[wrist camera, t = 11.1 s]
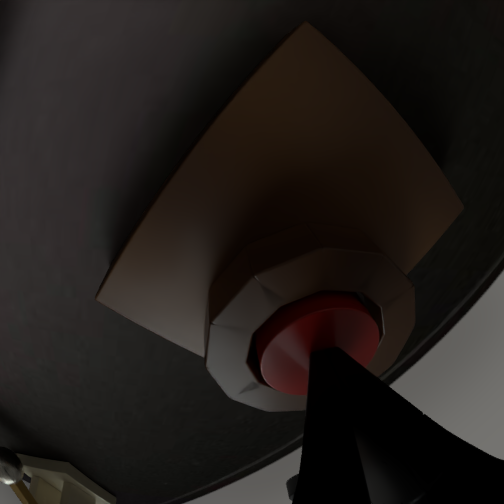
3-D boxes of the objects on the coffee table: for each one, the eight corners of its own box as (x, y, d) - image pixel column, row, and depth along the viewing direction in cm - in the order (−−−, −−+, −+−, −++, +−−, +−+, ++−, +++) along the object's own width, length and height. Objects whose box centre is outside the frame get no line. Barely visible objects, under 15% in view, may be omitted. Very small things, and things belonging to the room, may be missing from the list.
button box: (288, 32, 8) (328, 3, 5) (448, 208, 11) (504, 246, 8) (107, 269, 11) (78, 333, 8) (291, 367, 14) (309, 428, 11)
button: (307, 250, 9) (327, 285, 7) (377, 305, 10) (399, 338, 9) (229, 332, 10) (233, 373, 8) (306, 369, 11) (318, 406, 10)
